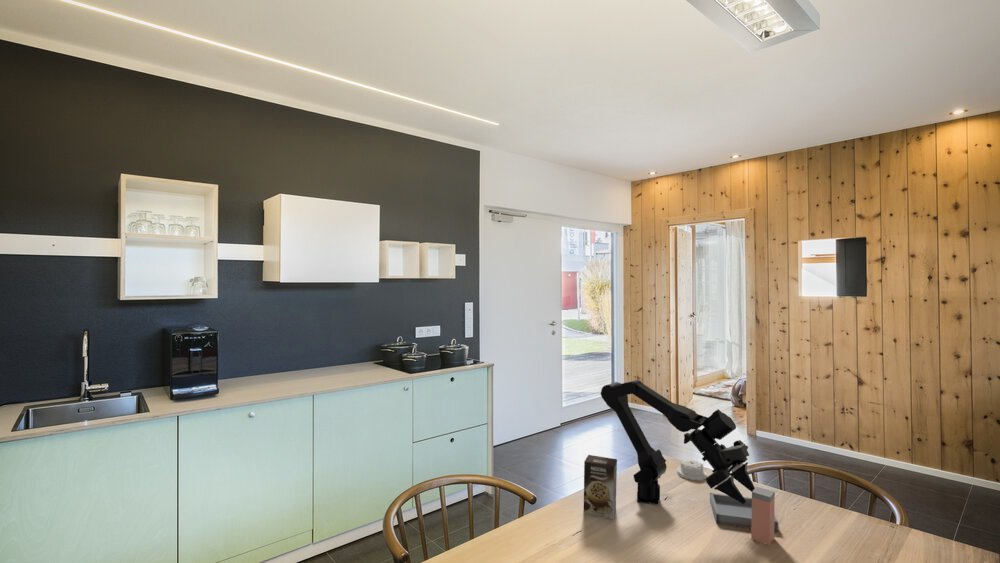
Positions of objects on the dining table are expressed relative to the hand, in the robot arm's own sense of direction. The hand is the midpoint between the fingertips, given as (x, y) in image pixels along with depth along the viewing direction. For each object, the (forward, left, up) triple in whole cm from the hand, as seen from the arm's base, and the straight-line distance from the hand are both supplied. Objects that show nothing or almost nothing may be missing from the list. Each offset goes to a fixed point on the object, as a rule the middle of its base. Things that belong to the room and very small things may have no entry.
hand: (749, 497), depth 134 cm
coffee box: (-41, 0, -11) cm, 42 cm away
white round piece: (-11, +38, -11) cm, 41 cm away
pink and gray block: (+3, -2, -10) cm, 11 cm away
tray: (0, +10, -10) cm, 15 cm away
